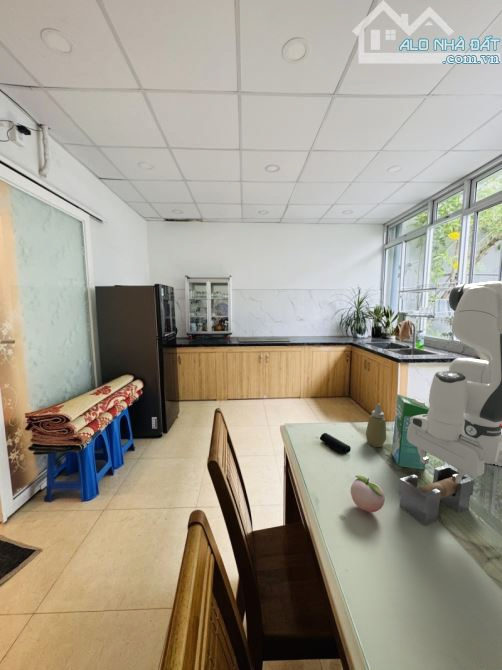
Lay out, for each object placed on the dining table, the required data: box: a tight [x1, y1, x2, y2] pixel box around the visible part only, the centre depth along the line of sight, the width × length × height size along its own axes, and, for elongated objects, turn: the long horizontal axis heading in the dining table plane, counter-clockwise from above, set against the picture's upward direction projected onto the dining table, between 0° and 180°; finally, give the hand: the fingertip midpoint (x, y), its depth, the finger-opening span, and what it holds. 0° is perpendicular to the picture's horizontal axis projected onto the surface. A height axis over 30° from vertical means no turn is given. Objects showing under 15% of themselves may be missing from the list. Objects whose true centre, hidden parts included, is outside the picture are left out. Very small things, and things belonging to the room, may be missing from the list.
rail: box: [417, 477, 457, 499], centre depth 80 cm, size 17×4×4 cm
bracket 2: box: [432, 464, 475, 513], centre depth 84 cm, size 6×8×9 cm
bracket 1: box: [398, 474, 441, 527], centre depth 79 cm, size 6×8×9 cm
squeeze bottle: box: [365, 403, 387, 448], centre depth 117 cm, size 8×8×18 cm
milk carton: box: [391, 394, 430, 471], centre depth 104 cm, size 9×9×25 cm
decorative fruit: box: [350, 474, 386, 513], centre depth 79 cm, size 9×8×10 cm
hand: (439, 471), depth 81 cm, fingers open, 8 cm apart
